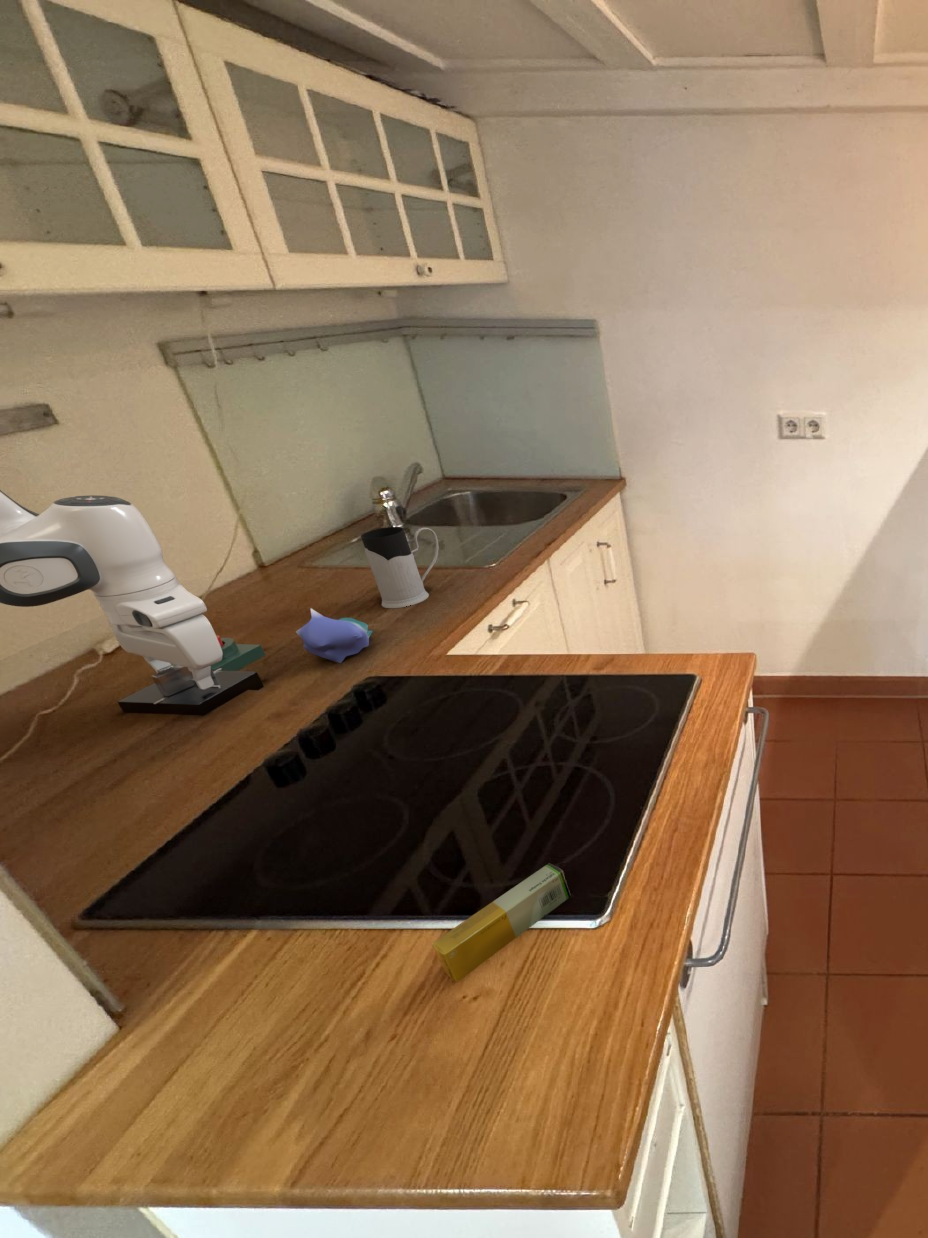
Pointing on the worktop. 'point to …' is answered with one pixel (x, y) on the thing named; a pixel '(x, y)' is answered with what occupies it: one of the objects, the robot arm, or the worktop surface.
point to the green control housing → (236, 655)
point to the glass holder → (396, 566)
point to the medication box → (501, 922)
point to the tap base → (193, 695)
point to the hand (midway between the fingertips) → (187, 682)
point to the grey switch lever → (174, 680)
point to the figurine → (334, 637)
